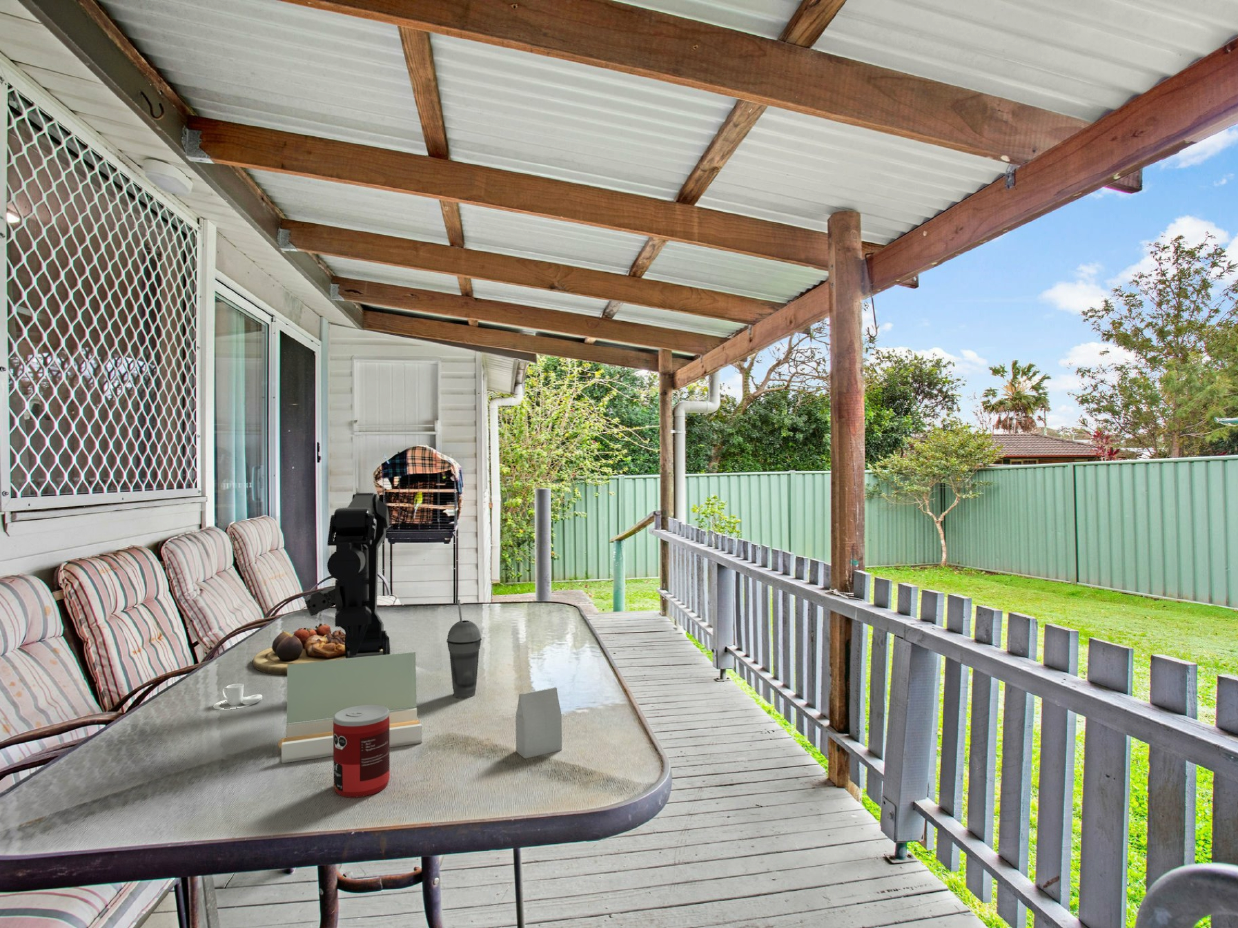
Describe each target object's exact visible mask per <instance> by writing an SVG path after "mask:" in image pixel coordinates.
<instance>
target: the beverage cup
mask: <svg viewBox="0 0 1238 928" xmlns="http://www.w3.org/2000/svg"><path fill="white" fill-rule="evenodd" d="M457 606H458V608H457V609H458V615H459V621H457V622H455V623H454V624H453V625H451V627H450V628H449V631H448V634H447V638H446V643H447V649H448V652H449V661H450V673H451V684H452V690H453V691H452V692H453V697H454V698H458V699H465V698H472V697H474V696H475V695H476V692H477V691H476V690H477V689H476V688H477V682H478V670H479V669H478V667H479V656H480V653H479V652H480V649H481V645H482V642H481V641H482V640H483V639H482V635H481V632H480V629H479V627H478V626H477V624H475V623H474V622H473V621H470V620H467V619H466V620H465V619H464V620H463V615H462V608H461V607H462V606H461V600H460V599H457Z"/></svg>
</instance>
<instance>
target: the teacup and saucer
mask: <svg viewBox="0 0 1238 928" xmlns="http://www.w3.org/2000/svg"><path fill="white" fill-rule="evenodd" d="M244 686H245V684H244V683H233V684H228V685H227V686H225V687H223V688H222V690H221V694H222V696H223V698H224V699H223V700H220V701H218V702H216V703H214V705H213V706H212V707H213V709H215V710H220V711H227V710H228V711H229V710H230V711H231V709H232V710H237V709H236V707H230V709H224V708H225V707H221V706H220V705H221V703H222V704H223V703H226V702H227V704H228V705H229V706H237V705H240V704H242V706H237V708H239V709H242V708H246V707H250V706H252V705H254V704H256V703H259V702H261V701H262V699H263V695H262V694H260V693H257V694H252V695H249V696H244V690H245V689H244V688H245V687H244ZM225 690H226V693H225ZM225 701H226V702H225Z"/></svg>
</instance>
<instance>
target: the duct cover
mask: <svg viewBox="0 0 1238 928" xmlns="http://www.w3.org/2000/svg"><path fill="white" fill-rule="evenodd" d="M416 659H417V658H416V651H411V652H400V653H390V654H389V655H379V656H365V657H355V658H345V659H336V660H328V661H318V662H308V663H298V664H288V665H287V675H286V725H287V724H292V723H300V722H308V721H316V720H324V719H331V718H334V715H335V714H336V713H337V712H339V711H341V710H343V709H346V708H350V707H354V706H360V705H379V706H384V707H386V708H388V709H389V711H394V710H402V709H410V708H418V707H417V705H418V704H417V668H416V667H417V666H416V665H417V664H416V663H417V662H416Z"/></svg>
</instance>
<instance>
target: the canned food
mask: <svg viewBox="0 0 1238 928" xmlns="http://www.w3.org/2000/svg"><path fill="white" fill-rule="evenodd" d="M390 748H391V747H390V721H389V709H388V708H386V707H384V706H379V705H360V706H354V707H350V708H346V709H343V710H341V711H339V712H337V713H336V714H335V715H334V720H333V756H332V758H333V760H332V761H333V786H334V790H335V792H336V794H338V795H339V796H341V797H345V798H346V797H347V798H361V797H362V798H363V797H367V796H368V797H369V796H371V795H374V794H378V793H379V792H381V791H383V790H384V789H385V788H386V787H387V786H388V785H389V781H390V777H391V776H390V774H391V772H390V766H391V765H390V761H391V760H390V756H391V755H390Z"/></svg>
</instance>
